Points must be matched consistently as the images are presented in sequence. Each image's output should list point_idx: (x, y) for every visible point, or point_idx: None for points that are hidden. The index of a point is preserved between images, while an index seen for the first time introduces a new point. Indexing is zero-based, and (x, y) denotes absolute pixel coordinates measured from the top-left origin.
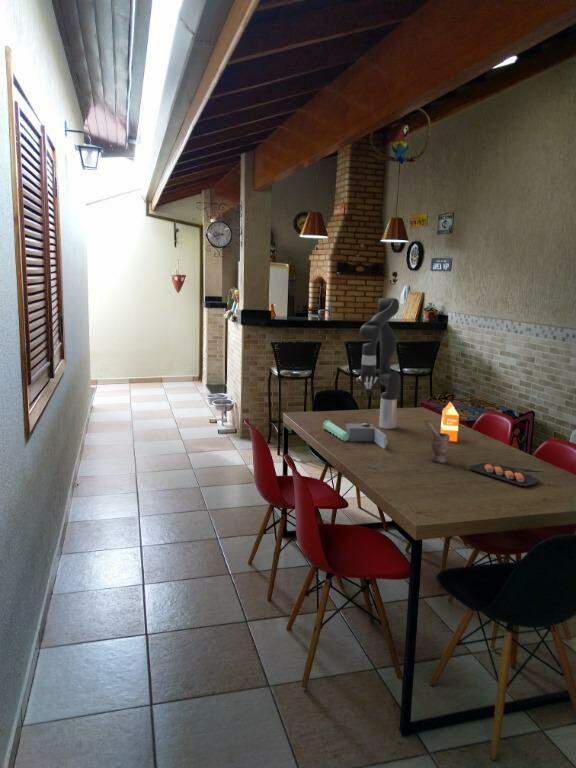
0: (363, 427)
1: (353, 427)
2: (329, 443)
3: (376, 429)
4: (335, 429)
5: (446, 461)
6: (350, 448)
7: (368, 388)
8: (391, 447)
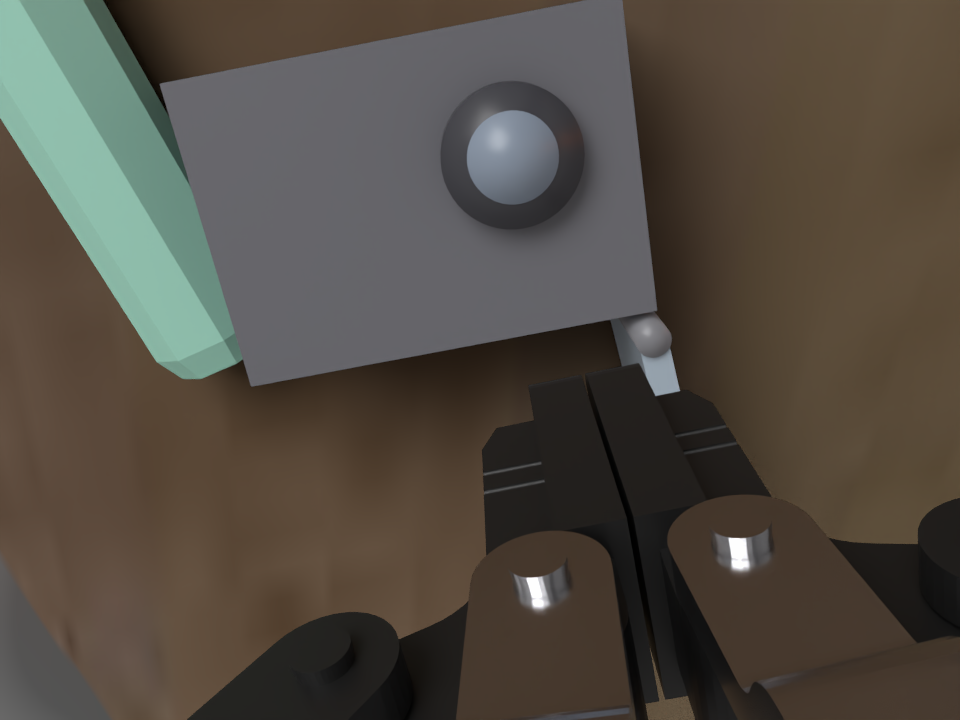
0: (464, 292)
1: (304, 331)
2: (58, 469)
3: (656, 388)
4: (27, 142)
5: None
6: (313, 595)
7: (680, 663)
8: (771, 470)
